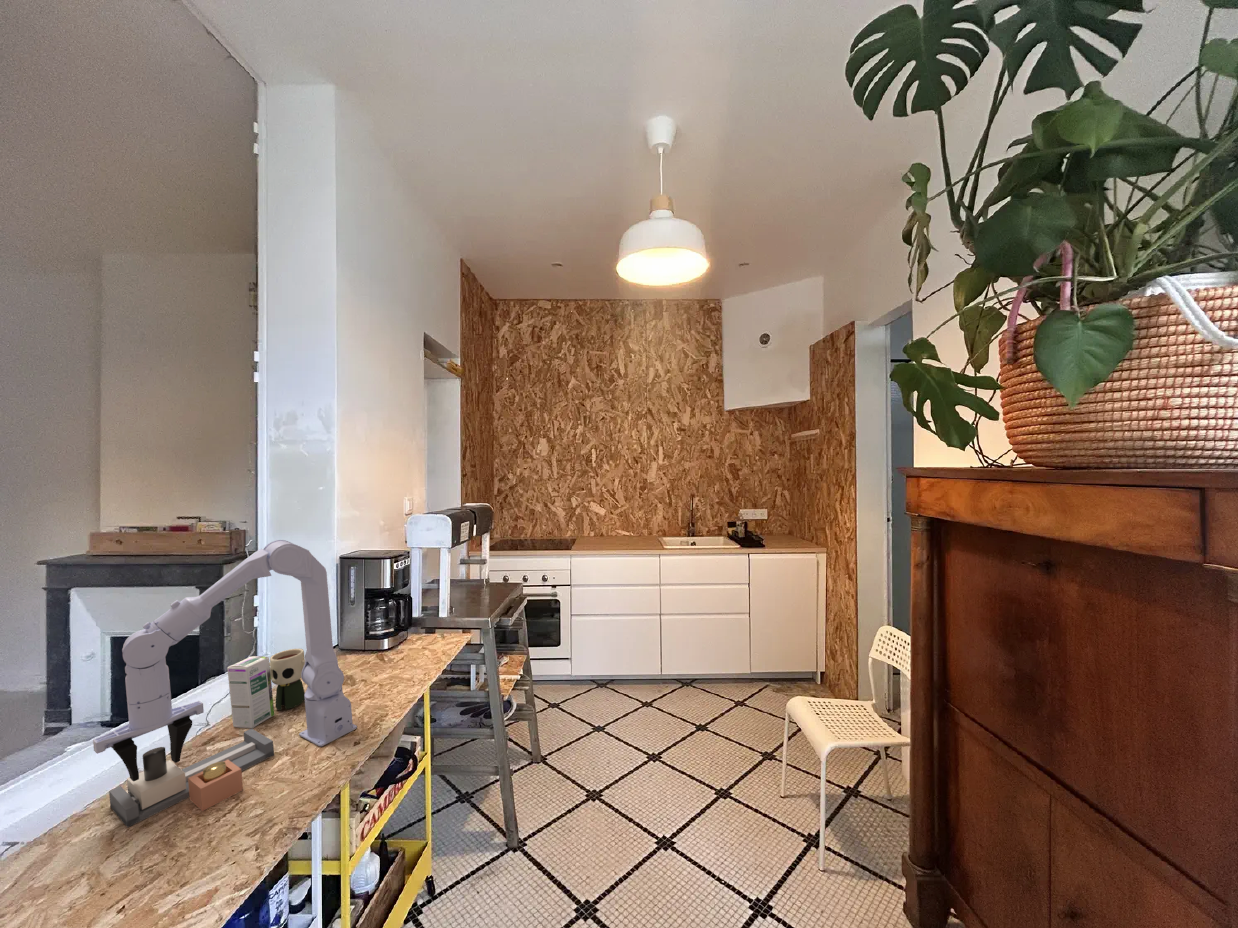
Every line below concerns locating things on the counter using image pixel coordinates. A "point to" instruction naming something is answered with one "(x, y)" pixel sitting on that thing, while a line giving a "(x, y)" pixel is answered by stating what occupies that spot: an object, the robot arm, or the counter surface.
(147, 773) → the carriage
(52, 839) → the counter surface
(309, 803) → the counter surface
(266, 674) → the syrup box
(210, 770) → the button
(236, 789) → the box
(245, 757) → the rail
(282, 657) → the character mug
